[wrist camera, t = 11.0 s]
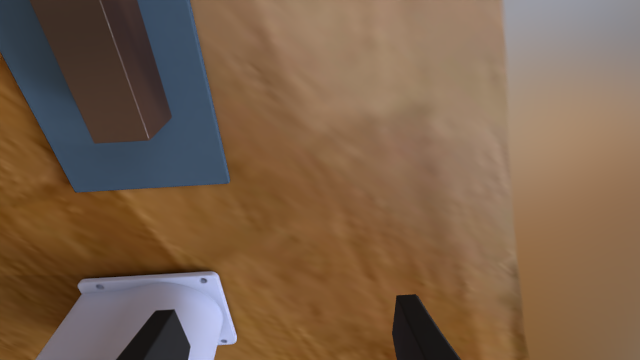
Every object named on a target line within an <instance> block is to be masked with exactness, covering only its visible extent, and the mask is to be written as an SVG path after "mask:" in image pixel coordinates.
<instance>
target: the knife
mask: <svg viewBox="0 0 640 360" xmlns="http://www.w3.org/2000/svg"><path fill="white" fill-rule="evenodd" d="M30 3H31V5H32V7H33V9H34V12H35V14H36V16H37V18H38V20H39V23H40V25H41V27H42V29H43V31H44V34H45V36H46V38H47V40H48V42H49V45H50V47H51V49H52V51H53V54H54V56H55V58H56V60H57V62H58V65H59V67H60V69H61V71H62V73H63V76H64V78H65V80H66V82H67V84H68V87H69V89H70V91H71V93H72V96H73V98H74V100H75V102H76V104H77V107H78V109H79V111H80V113H81V115H82V118H83V120H84V122H85V124H86V126H87V129H88V131H89V133H90V135H91V138H92V140H93V142H94V143H95V144H98V143H115V142H132V141H149V140H151V139H152V138H153V137H154V135H155V134H156V133H157V132H158V131H159V130H160V129H161V128H162V127H163V126H164V125H165V124H166V123H167V122H168V121H169V120H170V119H171V118H172V115H171V112H170V108H169V105H168V102H167V98H166V95H165V92H164V88H163V85H162V82H161V78H160V75H159V72H158V68H157V65H156V62H155V58H154V55H153V52H152V48H151V45H150V42H149V38H148V35H147V32H146V28H145V25H144V21H143V18H142V15H141V11H140V8H139V5H138V1H137V0H30Z"/></svg>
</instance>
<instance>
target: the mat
mask: <svg viewBox="0 0 640 360" xmlns="http://www.w3.org/2000/svg"><path fill="white" fill-rule="evenodd" d="M137 1H138V5H139V8H140V11H141V15H142V18H143V21H144V25H145V28H146V32H147V35H148V38H149V42H150V45H151V48H152V52H153V55H154V58H155V62H156V65H157V68H158V72H159V75H160V78H161V82H162V85H163V88H164V92H165V95H166V98H167V102H168V105H169V108H170V112H171V115H172V118H171V119H170V120H169V121H168V122H167V123H166V124H165V125H164V126H163V127H162V128H161V129H160V130H159V131H158V132H157V133H156V134H155V135H154V137H153V138H152V139H151V140H149V141H132V142H115V143H98V144H95V143H94V142H93V140H92V138H91V135H90V133H89V131H88V129H87V126H86V124H85V122H84V120H83V118H82V115H81V113H80V111H79V109H78V107H77V104H76V102H75V100H74V98H73V96H72V93H71V91H70V89H69V87H68V84H67V82H66V80H65V78H64V76H63V73H62V71H61V69H60V67H59V65H58V62H57V60H56V58H55V56H54V54H53V51H52V49H51V47H50V45H49V42H48V40H47V38H46V36H45V34H44V31H43V29H42V27H41V25H40V23H39V20H38V18H37V16H36V14H35V12H34V9H33V7H32V5H31V3H30V0H0V52H1V54H2V56H3V58H4V59H5V61H6V63H7V65H8V67H9V69H10V71H11V73H12V74H13V76H14V78H15V80H16V82H17V84H18V86H19V88H20V89H21V91H22V93H23V95H24V97H25V99H26V101H27V103H28V104H29V106H30V108H31V110H32V112H33V114H34V116H35V118H36V120H37V121H38V123H39V125H40V127H41V129H42V131H43V133H44V135H45V136H46V138H47V140H48V142H49V144H50V146H51V148H52V150H53V151H54V153H55V155H56V157H57V159H58V161H59V163H60V165H61V166H62V168H63V170H64V172H65V174H66V176H67V178H68V180H69V182H70V183H71V185H72V187H73V189H74V191H75V192H91V191H108V190H125V189H142V188H159V187H176V186H193V185H210V184H227V183H229V182H230V177H229V172H228V168H227V163H226V159H225V155H224V150H223V146H222V141H221V137H220V132H219V128H218V123H217V119H216V115H215V110H214V106H213V101H212V97H211V92H210V88H209V83H208V79H207V75H206V70H205V66H204V61H203V57H202V52H201V48H200V43H199V39H198V35H197V30H196V26H195V21H194V17H193V12H192V8H191V3H190V0H137Z"/></svg>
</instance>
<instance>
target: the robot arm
mask: <svg viewBox="0 0 640 360" xmlns="http://www.w3.org/2000/svg"><path fill="white" fill-rule="evenodd" d="M203 278H204V279H203ZM78 289H79V290H80V292H81V293H82V295H81V296H80V298H79V299H78V300H77V302H76V303H75V305H74V306H73V307H72V309H71V310H70V312H69V313H68V314H67V316H66V317H65V319H64V320H63V321H62V323H61V324H60V326H59V327H58V328H57V330H56V331H55V333H54V334H53V335H52V337H51V338H50V340H49V341H48V342H47V344H46V345H45V347H44V348H43V349H42V351H41V352H40V354H39V355H38V356H37V358H36V359H35V360H214V356H215V352H216V348H217V345H226V344H234V343H235V342H236V340H237V335H236V332H235V328H234V325H233V322H232V318H231V315H230V312H229V309H228V305H227V302H226V299H225V295H224V292H223V289H222V285H221V282H220V279H219V276H218V274H217V273H215V272H213V271H206V272H190V273H174V274H157V275H141V276H124V277H108V278H91V279H82V280H81V281H80V282H79V284H78ZM392 335H393V341H394V346H395V352H396V357H397V360H461V359H460V358H459V356H458V355H457V354H456V352H455V351H454V349H453V348H452V347H451V345H450V344H449V343H448V341H447V340H446V338H445V337H444V336H443V334H442V333H441V331H440V330H439V328H438V327H437V325H436V324H435V322H434V321H433V319H432V318H431V316H430V315H429V313H428V312H427V310H426V308H425V307H424V305H423V304H422V302H421V300H420V299H419V297H418V296H417V295H416V294H414V295H398V296H397V297H396V305H395V314H394V322H393V331H392Z"/></svg>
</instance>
